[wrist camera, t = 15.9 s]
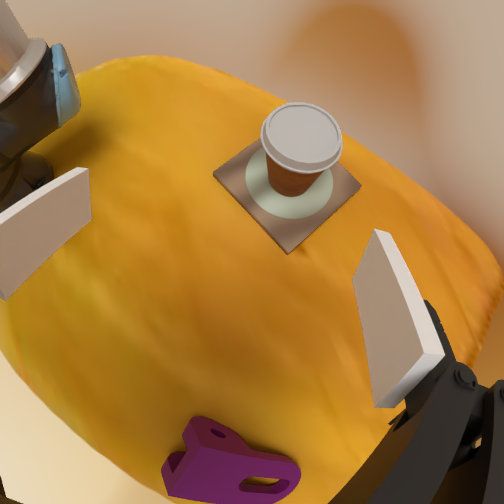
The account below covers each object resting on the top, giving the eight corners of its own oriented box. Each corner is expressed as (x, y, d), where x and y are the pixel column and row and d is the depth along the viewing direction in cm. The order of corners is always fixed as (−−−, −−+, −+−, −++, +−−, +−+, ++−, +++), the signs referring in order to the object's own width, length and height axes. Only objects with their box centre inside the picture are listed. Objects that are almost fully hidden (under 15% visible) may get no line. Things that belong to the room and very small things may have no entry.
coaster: (213, 176, 43) (212, 171, 41) (288, 122, 45) (290, 117, 44) (287, 254, 40) (288, 252, 39) (359, 188, 43) (362, 185, 42)
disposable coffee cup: (278, 219, 40) (291, 181, 28) (245, 165, 42) (245, 115, 30) (333, 190, 41) (362, 149, 29) (299, 141, 43) (314, 90, 31)
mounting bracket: (283, 438, 40) (184, 409, 34) (312, 465, 32) (201, 445, 26) (255, 477, 38) (156, 456, 32) (278, 507, 30) (168, 495, 24)
